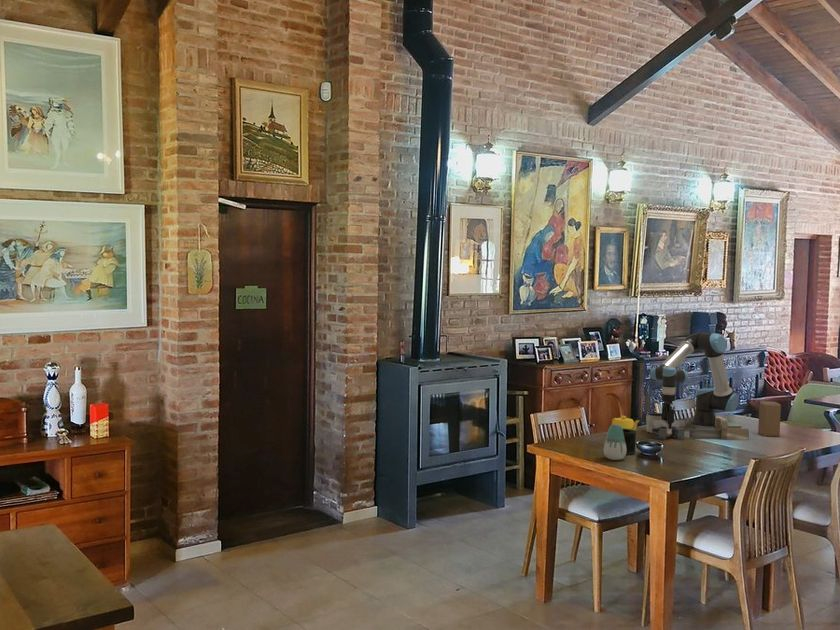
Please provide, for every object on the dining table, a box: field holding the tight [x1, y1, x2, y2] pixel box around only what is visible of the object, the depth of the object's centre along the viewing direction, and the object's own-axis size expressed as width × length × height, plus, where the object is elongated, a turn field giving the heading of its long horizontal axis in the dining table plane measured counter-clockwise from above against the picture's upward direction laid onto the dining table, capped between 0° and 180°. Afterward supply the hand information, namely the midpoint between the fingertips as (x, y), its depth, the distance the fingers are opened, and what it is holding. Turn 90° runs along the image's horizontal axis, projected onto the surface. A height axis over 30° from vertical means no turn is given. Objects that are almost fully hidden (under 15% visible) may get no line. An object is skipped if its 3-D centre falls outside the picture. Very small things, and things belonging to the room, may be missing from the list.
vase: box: [603, 423, 627, 461], centre depth 417 cm, size 12×12×18 cm
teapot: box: [611, 415, 640, 431], centre depth 473 cm, size 14×20×13 cm
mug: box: [623, 429, 638, 455], centre depth 434 cm, size 11×15×12 cm
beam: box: [688, 416, 750, 441], centre depth 479 cm, size 9×35×12 cm, turn 96°
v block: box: [651, 427, 685, 441], centre depth 476 cm, size 11×15×6 cm
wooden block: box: [757, 400, 782, 438], centre depth 492 cm, size 10×10×20 cm
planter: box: [645, 412, 668, 434], centre depth 493 cm, size 13×13×11 cm
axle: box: [653, 419, 686, 430], centre depth 476 cm, size 18×5×5 cm, turn 96°
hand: (667, 433), depth 476 cm, fingers closed on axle, 5 cm apart
